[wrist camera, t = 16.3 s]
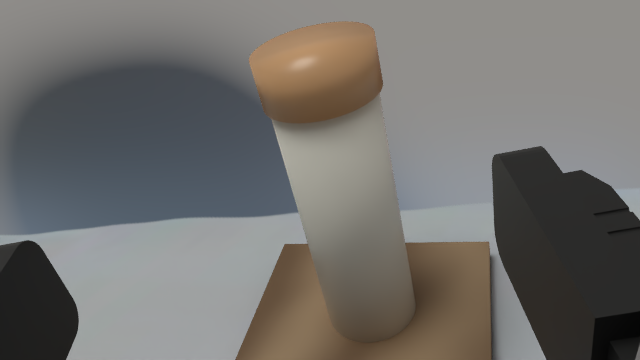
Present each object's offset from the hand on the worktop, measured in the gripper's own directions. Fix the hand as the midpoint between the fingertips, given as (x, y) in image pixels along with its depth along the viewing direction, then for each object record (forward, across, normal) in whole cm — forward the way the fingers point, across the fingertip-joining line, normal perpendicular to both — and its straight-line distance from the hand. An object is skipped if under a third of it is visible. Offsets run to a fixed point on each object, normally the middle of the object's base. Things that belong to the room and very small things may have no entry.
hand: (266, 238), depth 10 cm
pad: (+12, -1, +16) cm, 20 cm away
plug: (+12, -1, +15) cm, 20 cm away
